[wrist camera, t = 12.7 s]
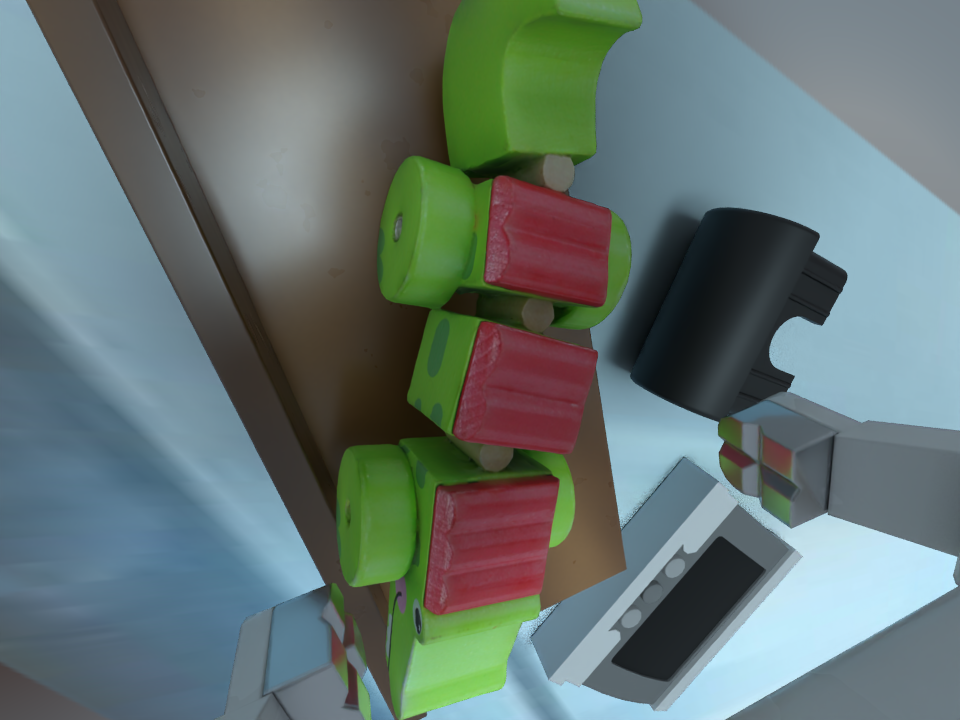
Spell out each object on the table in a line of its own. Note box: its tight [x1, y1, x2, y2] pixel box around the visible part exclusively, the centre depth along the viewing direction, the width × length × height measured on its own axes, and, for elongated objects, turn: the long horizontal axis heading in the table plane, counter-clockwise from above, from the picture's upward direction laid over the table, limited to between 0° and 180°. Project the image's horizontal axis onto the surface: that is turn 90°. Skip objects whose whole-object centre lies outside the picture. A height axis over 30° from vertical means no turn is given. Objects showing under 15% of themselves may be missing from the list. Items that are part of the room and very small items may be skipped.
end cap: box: [630, 208, 847, 422], centre depth 26 cm, size 10×7×7 cm
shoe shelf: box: [26, 0, 627, 720], centre depth 19 cm, size 12×26×10 cm, turn 14°
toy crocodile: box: [336, 0, 642, 720], centre depth 13 cm, size 20×7×6 cm, turn 167°
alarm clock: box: [531, 457, 803, 711], centre depth 36 cm, size 17×5×16 cm
